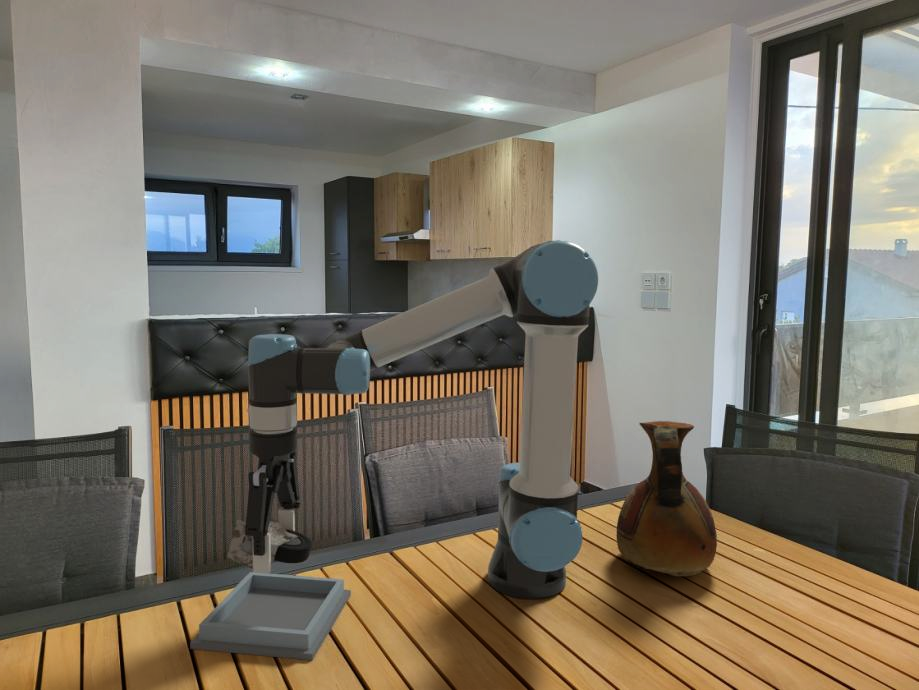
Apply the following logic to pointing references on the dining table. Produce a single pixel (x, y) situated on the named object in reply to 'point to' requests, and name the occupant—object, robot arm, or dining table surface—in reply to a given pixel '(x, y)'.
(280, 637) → the tray
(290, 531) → the caster wheel
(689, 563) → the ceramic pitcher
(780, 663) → the dining table surface
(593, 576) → the dining table surface
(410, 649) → the dining table surface
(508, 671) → the dining table surface
